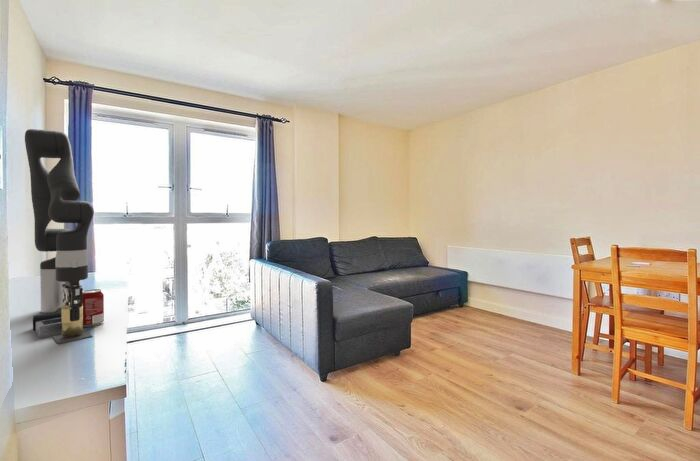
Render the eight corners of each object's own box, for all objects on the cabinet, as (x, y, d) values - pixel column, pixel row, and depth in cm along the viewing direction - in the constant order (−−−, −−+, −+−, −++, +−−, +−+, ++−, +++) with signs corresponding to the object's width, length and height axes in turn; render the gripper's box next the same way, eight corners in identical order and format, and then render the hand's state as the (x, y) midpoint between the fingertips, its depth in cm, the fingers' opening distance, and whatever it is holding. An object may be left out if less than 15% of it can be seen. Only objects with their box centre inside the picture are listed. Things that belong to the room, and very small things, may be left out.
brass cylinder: (60, 334, 97) (59, 305, 97) (80, 329, 101) (80, 302, 101) (63, 337, 94) (63, 307, 94) (84, 333, 98) (84, 304, 98)
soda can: (107, 323, 111) (107, 290, 111) (84, 329, 105) (84, 293, 105) (97, 320, 114) (97, 288, 114) (74, 326, 108) (74, 291, 108)
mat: (52, 338, 97) (52, 336, 97) (85, 331, 103) (85, 330, 103) (57, 344, 92) (57, 342, 92) (92, 336, 98) (92, 335, 98)
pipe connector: (35, 309, 111) (90, 302, 121) (35, 324, 111) (90, 316, 121) (32, 317, 102) (92, 309, 112) (33, 333, 102) (92, 323, 113)
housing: (35, 332, 102) (35, 321, 102) (68, 326, 108) (68, 316, 108) (39, 338, 97) (39, 326, 97) (73, 331, 103) (73, 320, 103)
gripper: (51, 263, 99) (51, 317, 99) (60, 268, 90) (61, 326, 90) (81, 261, 105) (82, 312, 105) (93, 265, 96) (94, 320, 96)
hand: (72, 318), depth 98 cm, fingers open, 5 cm apart
